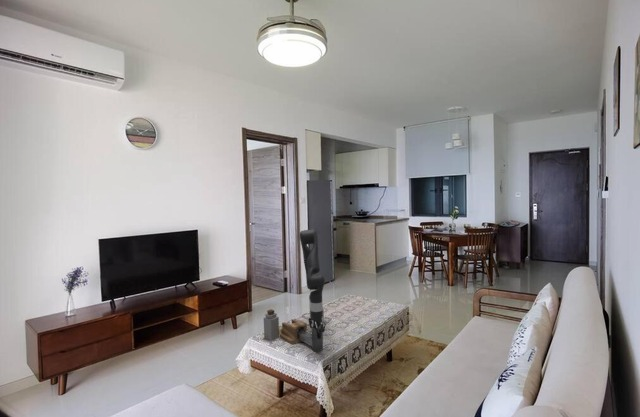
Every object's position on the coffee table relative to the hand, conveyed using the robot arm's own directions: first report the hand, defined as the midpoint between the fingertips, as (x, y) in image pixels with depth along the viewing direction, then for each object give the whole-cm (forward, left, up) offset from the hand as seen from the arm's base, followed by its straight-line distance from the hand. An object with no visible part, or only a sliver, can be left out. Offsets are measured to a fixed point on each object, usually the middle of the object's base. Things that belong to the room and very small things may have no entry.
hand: (317, 337), depth 208 cm
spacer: (0, -33, -6) cm, 33 cm away
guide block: (0, -23, -8) cm, 25 cm away
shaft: (0, -12, -7) cm, 14 cm away
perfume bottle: (+11, -33, -8) cm, 36 cm away
